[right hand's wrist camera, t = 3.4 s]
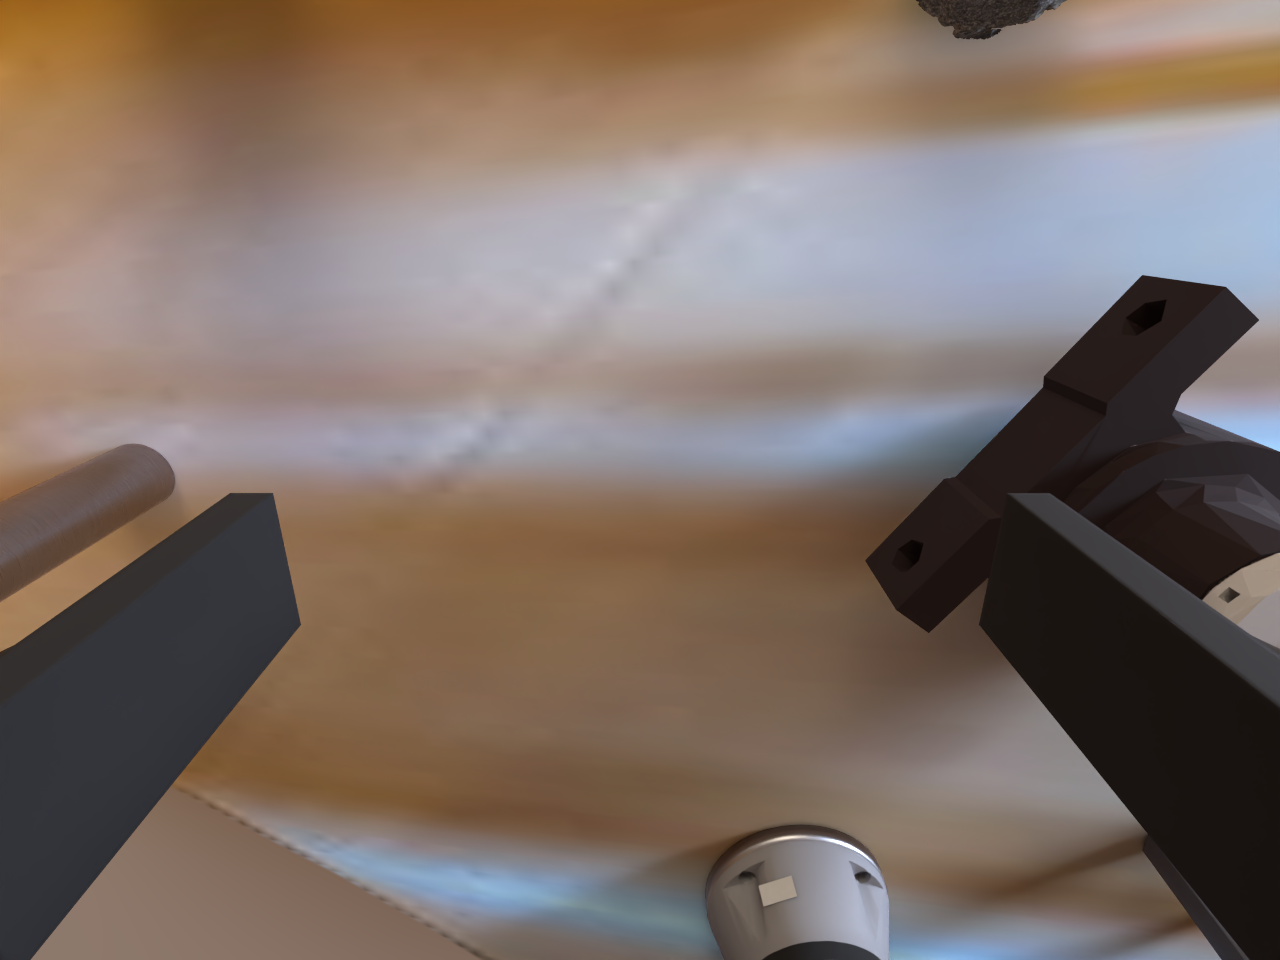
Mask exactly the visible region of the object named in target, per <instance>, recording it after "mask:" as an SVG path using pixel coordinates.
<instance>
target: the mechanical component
mask: <svg viewBox="0 0 1280 960" xmlns="http://www.w3.org/2000/svg"><path fill="white" fill-rule="evenodd" d="M1258 321H1259V319H1258V318H1257V317H1256V316H1255V315H1254V314H1253V313H1252V312H1251V311H1250V310H1249V309H1248V308H1247V307H1246V306H1245V305H1244V304H1243V303H1242V302H1241V301H1240V300H1239V299H1238V298H1237V297H1236V296H1235V295H1234V294H1233V293H1232V292H1231V291H1229V290H1228V289H1227V288H1226V287H1222V286H1215V285H1208V284H1201V283H1194V282H1187V281H1180V280H1173V279H1166V278H1159V277H1151V276H1144V275H1142V276H1141V277H1140V278H1139V279H1138V280H1137V281H1136V282H1135V283H1134V284H1133V285H1132V286H1131V287H1130V288H1129V289H1128V290H1127V291H1126V292H1125V294H1124V295H1123V296H1122V297H1121V298H1120V299H1119V300H1118V301H1117V302H1116V303H1115V304H1114V305H1113V306H1112V307H1111V308H1110V309H1109V310H1108V311H1107V312H1106V313H1105V314H1104V315H1103V316H1102V317H1101V318H1100V319H1099V320H1098V321H1097V322H1096V323H1095V324H1094V325H1093V326H1092V328H1091V329H1090V330H1089V331H1088V332H1087V333H1086V334H1085V335H1084V336H1083V337H1082V338H1081V339H1080V340H1079V341H1078V342H1077V343H1076V344H1075V345H1074V346H1073V347H1072V348H1071V349H1070V350H1069V351H1068V352H1067V353H1066V354H1065V355H1064V356H1063V357H1062V358H1061V359H1060V360H1059V361H1058V363H1057V364H1056V365H1055V366H1054V367H1053V368H1052V369H1051V370H1050V371H1049V372H1048V373H1047V374H1046V375H1045V376H1044V384H1043V388H1042V389H1041V390H1040V391H1039V392H1038V393H1037V394H1036V395H1035V396H1034V397H1033V398H1032V399H1031V400H1030V401H1029V402H1028V403H1027V404H1026V406H1025V407H1024V408H1023V409H1022V410H1021V411H1020V412H1019V413H1018V414H1017V415H1016V416H1015V417H1014V418H1013V419H1012V420H1011V421H1010V422H1009V423H1008V424H1007V425H1006V426H1005V427H1004V428H1003V429H1002V430H1001V431H1000V432H999V433H998V434H997V435H996V436H995V437H994V438H993V439H992V440H991V441H990V442H989V443H988V444H987V445H986V446H985V448H984V449H983V450H982V451H981V452H980V453H979V454H978V455H977V456H976V457H975V458H974V459H973V460H972V461H971V462H970V463H969V464H968V465H967V466H966V467H965V468H964V469H963V470H962V471H961V472H960V473H959V474H958V475H957V476H956V477H955V478H948V479H944V480H943V481H942V482H941V483H940V484H939V485H938V486H937V487H936V488H935V489H934V490H933V491H932V492H931V493H930V494H929V495H928V496H927V497H926V498H925V499H924V500H923V502H922V503H921V504H920V505H919V506H918V507H917V508H916V509H915V510H914V511H913V512H912V513H911V514H910V515H909V516H908V517H907V518H906V519H905V520H904V521H903V522H902V523H901V524H900V525H899V526H898V527H897V528H896V529H895V530H894V531H893V532H892V533H891V534H890V535H889V537H888V538H887V539H886V540H885V541H884V542H883V543H882V544H881V545H880V546H879V547H878V548H877V549H876V550H875V551H874V552H873V553H872V554H871V555H870V556H869V557H868V558H867V559H866V560H865V561H866V563H867V564H868V566H869V567H870V569H871V571H872V572H873V574H874V575H875V577H876V578H877V580H878V582H879V583H880V585H881V586H882V588H883V590H884V591H885V593H886V594H887V596H888V597H889V599H890V601H891V602H892V604H893V605H894V607H895V609H896V610H897V611H899V612H900V613H901V614H903V615H904V616H906V617H907V618H908V619H910V620H911V621H913V622H914V623H915V624H917V625H918V626H920V627H921V628H923V629H924V630H925V631H927V632H928V633H929V632H930V631H932V630H933V629H934V628H935V627H936V626H937V625H938V624H939V623H940V622H941V621H942V620H943V619H944V618H945V617H946V616H947V615H948V614H950V613H951V612H952V611H953V610H954V609H955V608H956V607H957V606H958V605H959V604H960V603H961V602H962V601H963V600H964V599H965V598H966V597H968V596H969V595H970V594H971V593H972V592H973V591H974V590H975V589H976V588H977V587H978V586H979V585H980V584H981V583H982V582H983V581H985V580H986V579H987V578H988V579H989V576H990V571H991V566H992V562H993V557H994V552H995V548H996V543H997V538H998V533H999V529H1000V524H1001V519H1002V515H1003V510H1004V505H1005V500H1006V496H1007V493H1050V494H1052V495H1053V496H1054V497H1056V498H1057V499H1059V500H1060V501H1062V502H1063V503H1064V504H1066V505H1067V506H1069V507H1070V508H1072V509H1073V510H1074V511H1076V512H1077V513H1079V514H1080V515H1081V516H1083V517H1084V518H1086V519H1087V520H1089V521H1090V522H1091V523H1093V524H1094V525H1096V526H1097V527H1098V528H1100V529H1101V530H1103V531H1104V532H1106V533H1107V534H1108V535H1110V536H1111V537H1113V538H1114V539H1115V540H1117V541H1118V542H1120V543H1121V544H1123V545H1124V546H1125V547H1127V548H1128V549H1130V550H1131V551H1133V552H1134V553H1135V554H1137V555H1138V556H1140V557H1141V558H1142V559H1144V560H1145V561H1147V562H1148V563H1150V564H1151V565H1152V566H1154V567H1155V568H1157V569H1158V570H1159V571H1161V572H1162V573H1164V574H1165V575H1167V576H1168V577H1169V578H1171V579H1172V580H1174V581H1175V582H1177V583H1178V584H1179V585H1181V586H1182V587H1184V588H1185V589H1186V590H1188V591H1189V592H1191V593H1192V594H1194V595H1195V596H1196V597H1198V598H1199V599H1201V600H1202V601H1203V602H1205V603H1206V604H1208V605H1209V606H1211V607H1212V608H1213V609H1215V610H1216V611H1218V612H1219V613H1220V614H1222V615H1223V616H1225V617H1226V618H1228V619H1229V620H1230V621H1232V622H1233V623H1235V624H1236V625H1238V626H1239V627H1240V628H1242V629H1243V630H1245V631H1246V632H1247V633H1249V634H1250V635H1252V636H1254V637H1256V638H1258V639H1260V640H1262V641H1264V642H1267V643H1269V644H1271V645H1273V646H1275V647H1277V648H1279V649H1280V452H1279V451H1276V450H1274V449H1271V448H1269V447H1266V446H1264V445H1261V444H1259V443H1256V442H1254V441H1251V440H1249V439H1246V438H1244V437H1241V436H1239V435H1236V434H1234V433H1231V432H1229V431H1226V430H1224V429H1221V428H1219V427H1216V426H1214V425H1211V424H1209V423H1206V422H1204V421H1201V420H1199V419H1196V418H1194V417H1191V416H1189V415H1186V414H1184V413H1181V412H1179V411H1176V410H1174V409H1175V407H1176V405H1177V403H1178V400H1179V398H1180V396H1181V394H1182V393H1183V392H1184V391H1185V390H1186V389H1187V388H1188V387H1189V386H1190V385H1191V384H1192V383H1193V382H1194V381H1195V380H1197V379H1198V378H1199V377H1200V376H1201V375H1202V374H1203V373H1204V372H1205V371H1206V370H1207V369H1208V368H1209V367H1210V366H1211V365H1212V364H1213V363H1214V362H1216V361H1217V360H1218V359H1219V358H1220V357H1221V356H1222V355H1223V354H1224V353H1225V352H1226V351H1227V350H1228V349H1229V348H1230V347H1231V346H1232V345H1233V344H1234V343H1236V342H1237V341H1238V340H1239V339H1240V338H1241V337H1242V336H1243V335H1244V334H1245V333H1246V332H1247V331H1248V330H1249V329H1250V328H1251V327H1252V326H1253V325H1254V324H1256V323H1257V322H1258Z"/></svg>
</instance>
